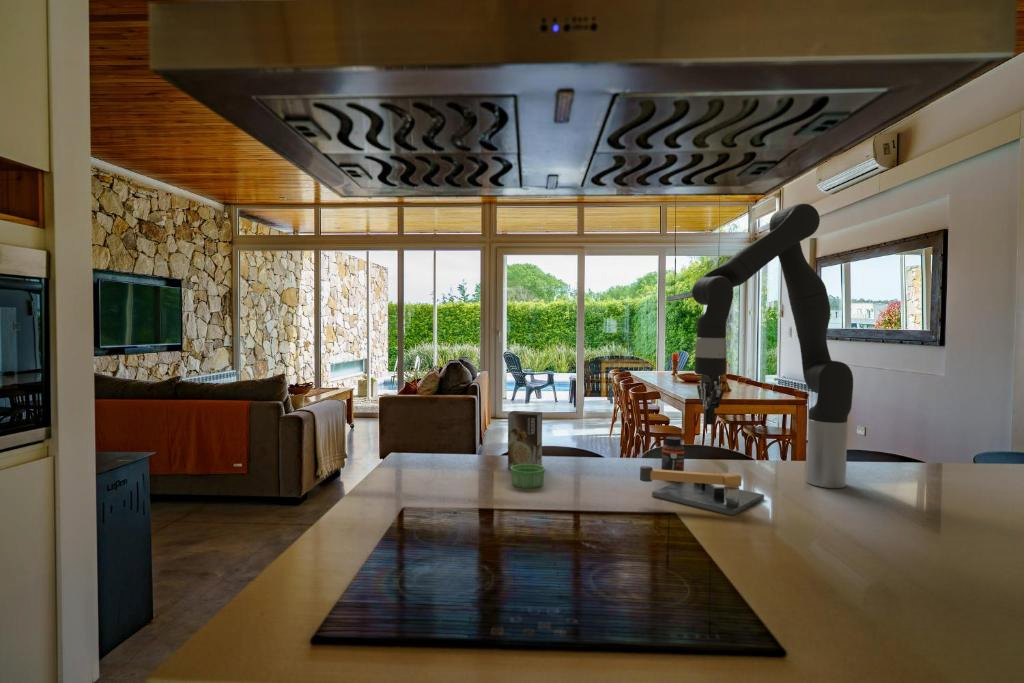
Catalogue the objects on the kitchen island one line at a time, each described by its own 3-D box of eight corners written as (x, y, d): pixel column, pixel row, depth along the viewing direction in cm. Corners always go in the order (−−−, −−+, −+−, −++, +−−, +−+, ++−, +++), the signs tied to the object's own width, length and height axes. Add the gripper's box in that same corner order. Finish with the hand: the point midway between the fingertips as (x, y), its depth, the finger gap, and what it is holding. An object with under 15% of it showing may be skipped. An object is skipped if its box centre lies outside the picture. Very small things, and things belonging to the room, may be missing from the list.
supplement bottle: (678, 483, 156) (679, 440, 155) (657, 479, 159) (658, 437, 159) (687, 478, 160) (688, 437, 160) (666, 475, 164) (667, 434, 164)
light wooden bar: (739, 485, 134) (740, 472, 134) (742, 489, 131) (742, 476, 130) (640, 477, 140) (640, 465, 140) (639, 481, 136) (640, 469, 136)
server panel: (689, 482, 156) (689, 463, 156) (765, 498, 142) (765, 477, 142) (652, 496, 143) (652, 475, 143) (732, 515, 129) (732, 492, 129)
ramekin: (545, 480, 156) (545, 464, 156) (544, 489, 147) (544, 472, 147) (511, 479, 157) (512, 462, 157) (508, 488, 148) (509, 471, 148)
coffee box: (542, 466, 172) (543, 411, 172) (537, 471, 166) (538, 414, 165) (512, 463, 175) (513, 410, 174) (506, 468, 169) (507, 413, 168)
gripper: (735, 357, 141) (734, 428, 142) (715, 354, 154) (714, 420, 155) (704, 356, 141) (703, 428, 142) (687, 354, 154) (686, 419, 155)
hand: (709, 424), depth 148 cm, fingers closed
